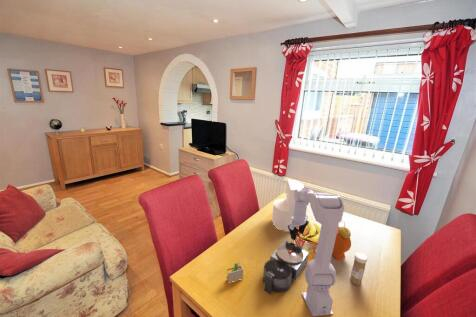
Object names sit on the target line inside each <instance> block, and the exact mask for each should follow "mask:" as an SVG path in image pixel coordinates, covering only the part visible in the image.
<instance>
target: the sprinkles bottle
mask: <svg viewBox="0 0 476 317" xmlns="http://www.w3.org/2000/svg"><path fill="white" fill-rule="evenodd" d="M367 261H368V257H367V256H366V254H364V253H362V252H356V253H355V254H354V259H353V266H352V268H351V275H350V277H349V281H350V282H351V283H352V284H354V285H356V286H361V285H362V280H363V277H364V274H365V270H366V266H367V265H366V264H367Z"/></svg>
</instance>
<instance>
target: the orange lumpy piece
mask: <svg viewBox="0 0 476 317" xmlns="http://www.w3.org/2000/svg"><path fill="white" fill-rule="evenodd" d="M341 222H343V224H344V226H339V225H338V231H337V235H336V239H335V244H334V248H333V252H332V255H333V256H334V259H335V260H337V261H338V262H339V261H341V260H344V259H345V258H346V255H345V253H347V252H348V251H350V249H351V247H352V239H351V236H352V234H351V231H350V229H349V228H347V227H346V222H345V221H343V219H342V220H341Z"/></svg>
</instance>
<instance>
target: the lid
mask: <svg viewBox="0 0 476 317" xmlns="http://www.w3.org/2000/svg"><path fill="white" fill-rule="evenodd" d="M285 242H286V244H282V243H281V244H279V245H278V246H277V247H276V249H277V255H278V257H279V258H280V259H281V260H283V261H285V262H287V263H291V264H296V263H300V262H301V261H302V260H303V258H304V254H303V251H302V250H303V246H299V245H298V244H295V243H293V242H291V241H289V240H286V241H285Z"/></svg>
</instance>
